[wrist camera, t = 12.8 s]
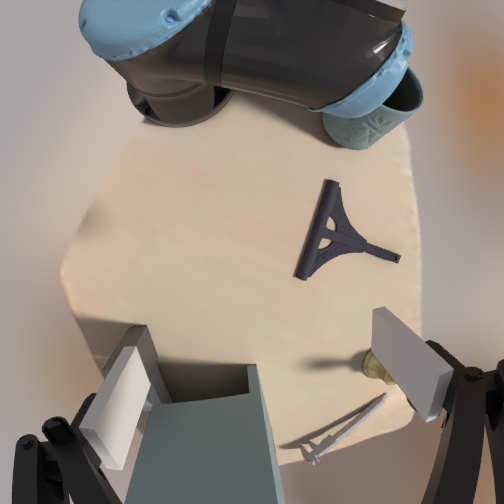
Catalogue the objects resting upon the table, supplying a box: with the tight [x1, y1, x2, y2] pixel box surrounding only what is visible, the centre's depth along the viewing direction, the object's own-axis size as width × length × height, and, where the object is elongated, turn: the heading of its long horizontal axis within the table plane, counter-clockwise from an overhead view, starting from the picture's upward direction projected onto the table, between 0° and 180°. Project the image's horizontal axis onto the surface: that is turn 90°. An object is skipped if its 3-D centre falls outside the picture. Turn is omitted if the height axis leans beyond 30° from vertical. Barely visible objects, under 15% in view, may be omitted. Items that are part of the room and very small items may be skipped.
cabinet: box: [124, 364, 285, 504], centre depth 34 cm, size 16×17×26 cm
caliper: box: [300, 393, 388, 465], centre depth 47 cm, size 20×1×6 cm, turn 127°
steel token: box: [142, 394, 153, 412], centre depth 45 cm, size 5×5×1 cm
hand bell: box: [363, 350, 419, 413], centre depth 39 cm, size 8×8×16 cm
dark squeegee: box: [296, 180, 401, 281], centre depth 41 cm, size 14×15×3 cm
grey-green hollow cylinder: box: [322, 66, 424, 150], centre depth 31 cm, size 10×10×12 cm
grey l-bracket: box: [102, 325, 173, 405], centre depth 38 cm, size 20×3×12 cm, turn 11°
